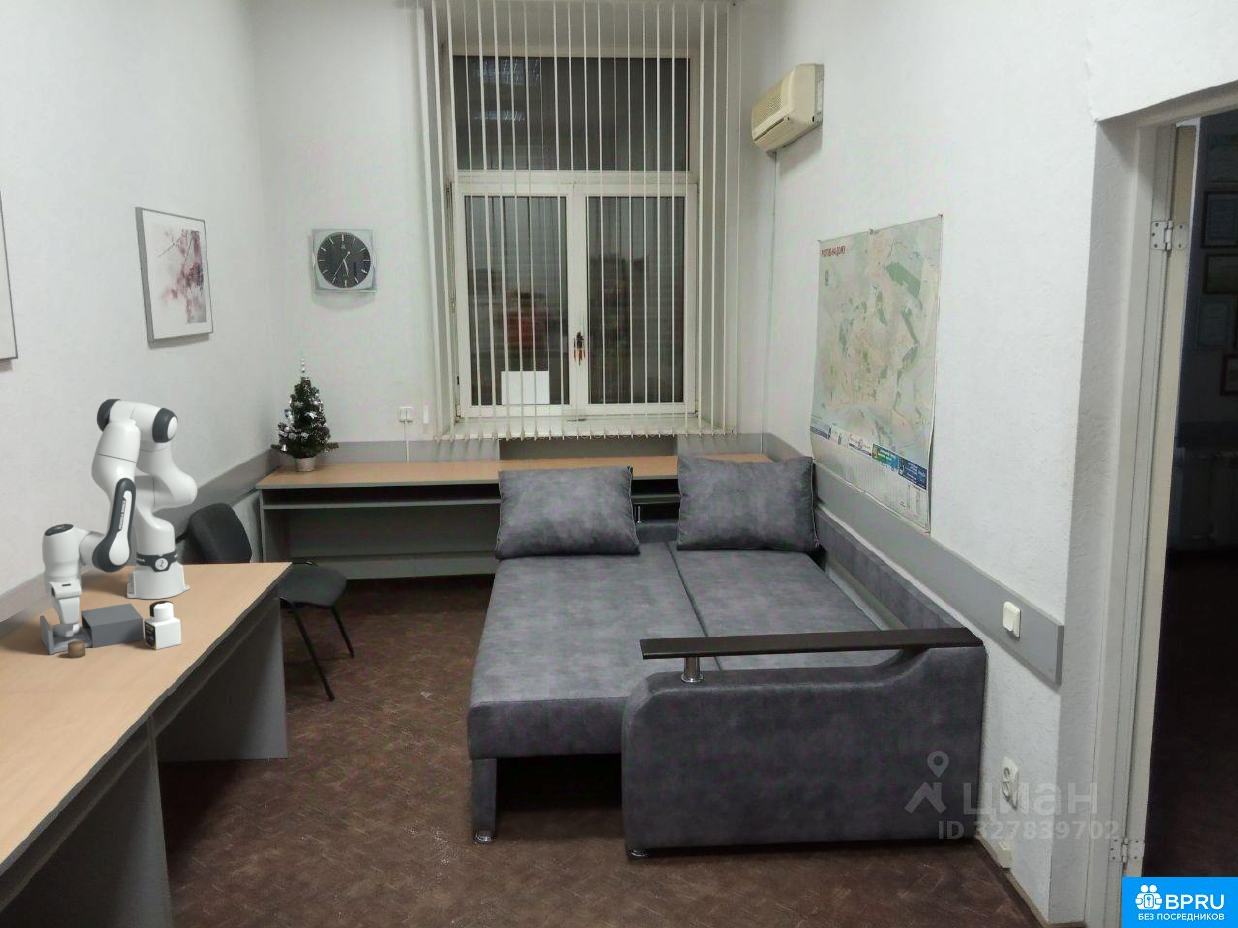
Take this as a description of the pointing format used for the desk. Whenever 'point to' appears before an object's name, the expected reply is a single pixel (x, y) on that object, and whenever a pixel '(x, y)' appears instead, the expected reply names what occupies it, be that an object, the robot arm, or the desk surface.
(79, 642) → the brown rounded piece
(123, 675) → the desk surface
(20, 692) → the desk surface
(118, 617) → the housing
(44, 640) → the tray
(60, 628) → the disc
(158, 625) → the medicine bottle
